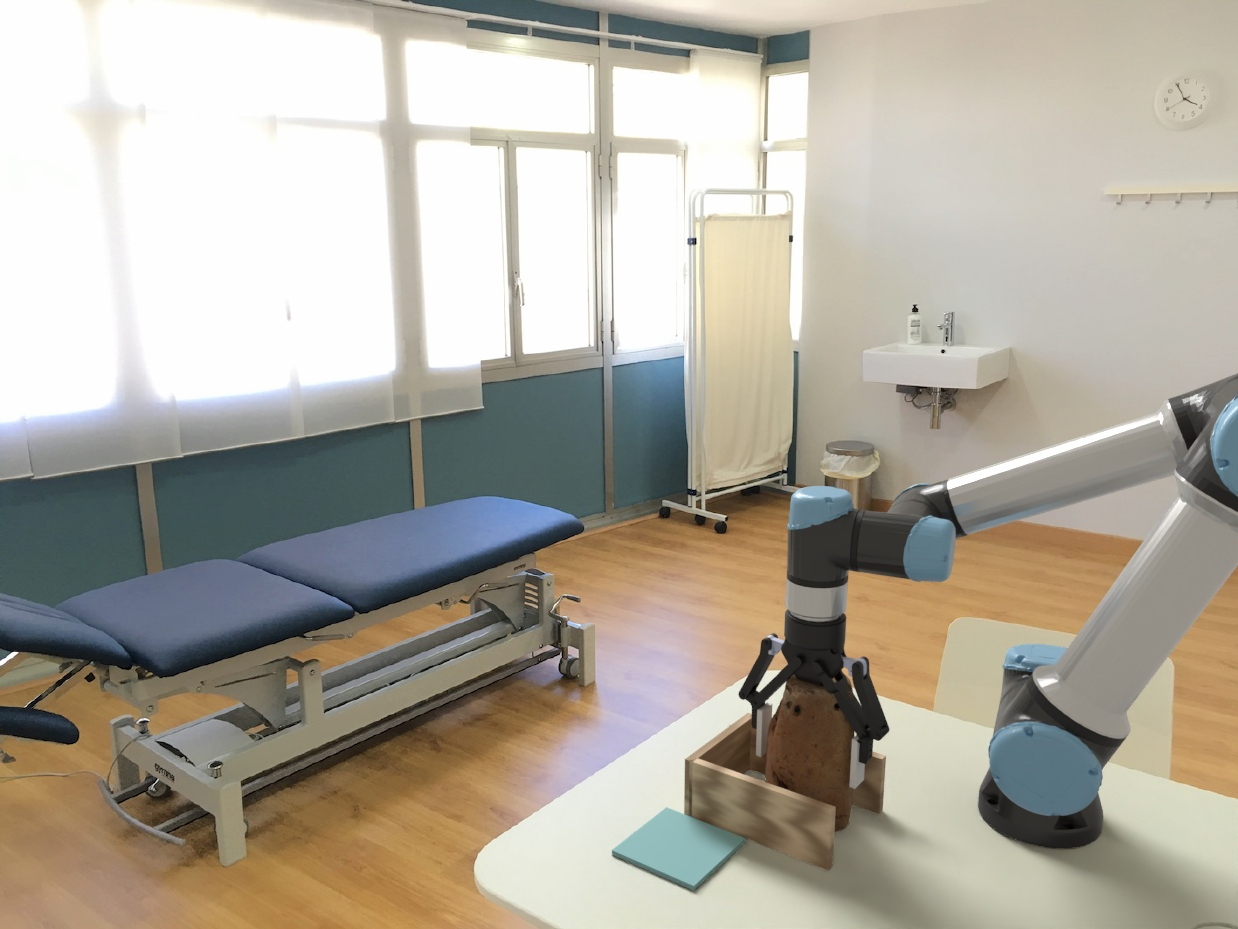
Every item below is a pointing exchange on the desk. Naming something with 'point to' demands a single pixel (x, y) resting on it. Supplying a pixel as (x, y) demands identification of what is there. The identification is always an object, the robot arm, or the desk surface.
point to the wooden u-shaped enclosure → (767, 798)
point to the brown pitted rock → (812, 747)
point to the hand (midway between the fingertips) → (808, 767)
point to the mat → (679, 848)
